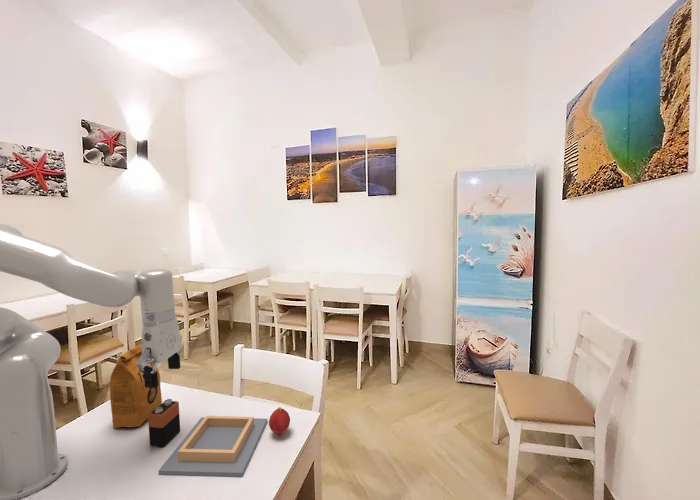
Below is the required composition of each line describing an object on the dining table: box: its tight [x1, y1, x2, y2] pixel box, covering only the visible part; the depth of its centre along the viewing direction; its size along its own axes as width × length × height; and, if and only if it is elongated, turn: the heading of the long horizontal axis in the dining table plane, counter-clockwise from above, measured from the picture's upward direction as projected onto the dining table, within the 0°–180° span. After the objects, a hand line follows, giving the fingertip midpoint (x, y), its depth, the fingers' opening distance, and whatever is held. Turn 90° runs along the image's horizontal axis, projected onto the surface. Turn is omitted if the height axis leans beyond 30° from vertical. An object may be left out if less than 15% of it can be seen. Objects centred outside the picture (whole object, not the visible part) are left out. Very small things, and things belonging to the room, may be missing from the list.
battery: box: [147, 398, 181, 448], centre depth 85 cm, size 4×7×10 cm, turn 172°
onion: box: [268, 406, 291, 436], centre depth 87 cm, size 6×6×8 cm
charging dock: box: [158, 415, 269, 478], centre depth 83 cm, size 20×20×4 cm
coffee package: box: [109, 343, 163, 429], centre depth 94 cm, size 10×12×22 cm
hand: (163, 377), depth 84 cm, fingers open, 9 cm apart
